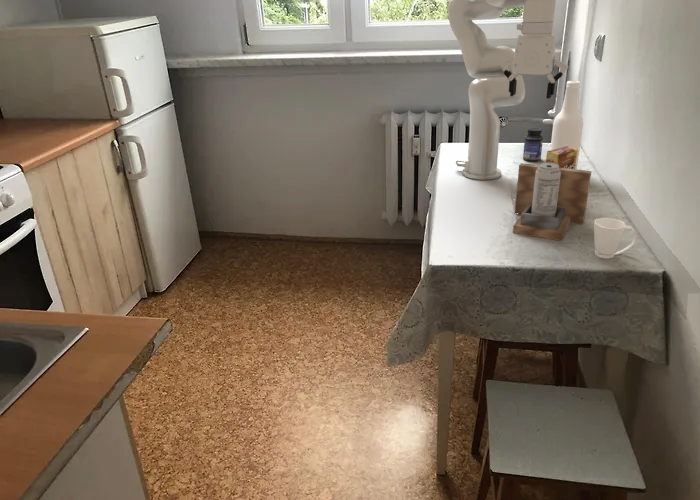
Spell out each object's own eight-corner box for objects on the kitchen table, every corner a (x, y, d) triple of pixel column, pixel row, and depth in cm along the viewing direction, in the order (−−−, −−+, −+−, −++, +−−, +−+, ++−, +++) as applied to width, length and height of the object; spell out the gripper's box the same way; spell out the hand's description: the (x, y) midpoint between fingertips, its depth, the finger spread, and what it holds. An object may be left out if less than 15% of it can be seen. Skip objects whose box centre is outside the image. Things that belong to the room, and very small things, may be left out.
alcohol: (546, 171, 195) (556, 79, 182) (573, 171, 193) (586, 79, 180) (548, 179, 187) (560, 83, 174) (577, 180, 185) (591, 84, 172)
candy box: (551, 206, 166) (557, 154, 159) (539, 201, 169) (545, 150, 163) (571, 199, 170) (578, 148, 164) (559, 195, 173) (565, 145, 167)
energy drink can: (554, 217, 153) (561, 162, 147) (555, 226, 148) (562, 169, 141) (530, 215, 155) (536, 161, 148) (530, 224, 149) (536, 168, 143)
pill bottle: (542, 162, 204) (546, 130, 199) (525, 162, 204) (528, 131, 199) (537, 157, 209) (541, 126, 205) (520, 157, 209) (523, 127, 205)
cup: (584, 248, 140) (589, 217, 137) (627, 248, 140) (633, 217, 136) (593, 261, 134) (599, 229, 131) (638, 261, 133) (645, 228, 130)
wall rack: (501, 230, 151) (505, 179, 145) (516, 211, 163) (521, 163, 157) (573, 242, 143) (581, 189, 137) (583, 221, 155) (591, 171, 149)
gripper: (499, 30, 151) (495, 97, 158) (569, 30, 143) (560, 101, 150) (507, 27, 156) (502, 92, 164) (575, 28, 149) (566, 96, 156)
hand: (530, 96), depth 157 cm, fingers open, 9 cm apart
